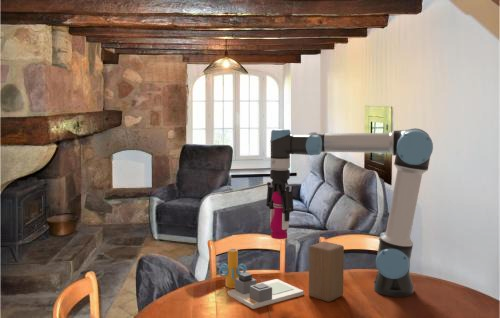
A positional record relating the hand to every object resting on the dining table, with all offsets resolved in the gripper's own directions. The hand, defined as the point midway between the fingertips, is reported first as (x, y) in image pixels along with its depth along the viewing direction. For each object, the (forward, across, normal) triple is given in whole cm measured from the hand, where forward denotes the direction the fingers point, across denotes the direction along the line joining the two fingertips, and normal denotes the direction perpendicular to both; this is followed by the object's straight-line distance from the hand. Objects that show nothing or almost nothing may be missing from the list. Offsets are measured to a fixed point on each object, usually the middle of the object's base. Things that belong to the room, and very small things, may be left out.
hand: (279, 227), depth 200 cm
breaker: (+22, -4, -13) cm, 26 cm away
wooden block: (+26, +15, +11) cm, 32 cm away
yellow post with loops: (+26, -14, -12) cm, 32 cm away
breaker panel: (+26, +1, -7) cm, 27 cm away
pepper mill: (+4, 0, 0) cm, 4 cm away
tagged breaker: (+24, +6, -13) cm, 28 cm away
